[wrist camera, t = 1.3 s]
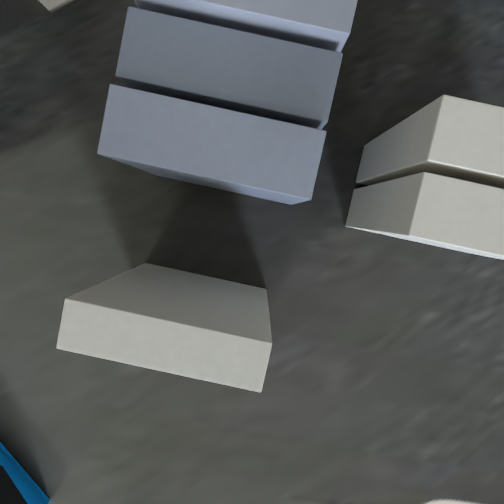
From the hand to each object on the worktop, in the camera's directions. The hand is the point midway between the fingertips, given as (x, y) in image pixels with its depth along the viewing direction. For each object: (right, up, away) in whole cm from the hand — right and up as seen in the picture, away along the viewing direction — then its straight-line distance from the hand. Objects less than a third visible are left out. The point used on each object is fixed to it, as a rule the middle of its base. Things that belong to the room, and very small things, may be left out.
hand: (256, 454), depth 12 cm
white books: (+13, +9, +24) cm, 28 cm away
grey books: (-1, +16, +23) cm, 28 cm away
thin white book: (-4, +2, +24) cm, 25 cm away
